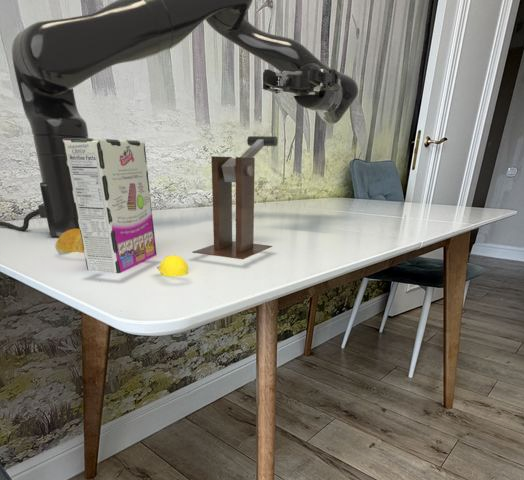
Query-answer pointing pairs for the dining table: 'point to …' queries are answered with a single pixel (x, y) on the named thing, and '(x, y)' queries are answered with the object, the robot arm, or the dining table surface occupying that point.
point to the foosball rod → (247, 154)
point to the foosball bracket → (224, 211)
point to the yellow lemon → (173, 266)
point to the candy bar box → (111, 202)
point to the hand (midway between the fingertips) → (287, 75)
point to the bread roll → (69, 242)
